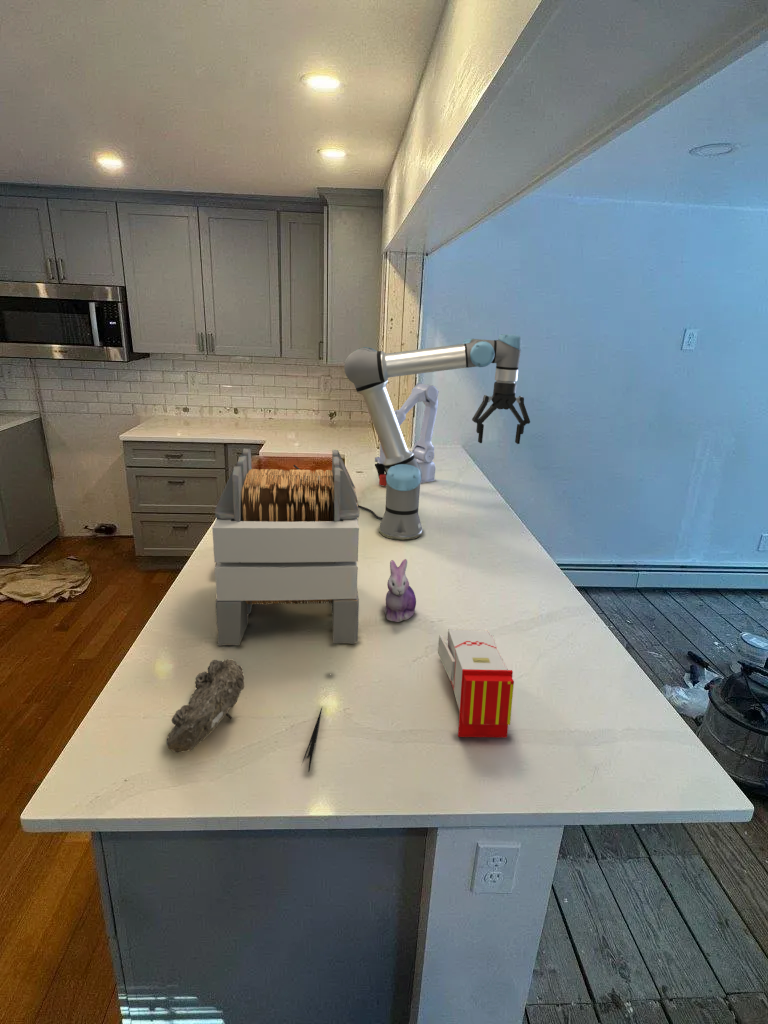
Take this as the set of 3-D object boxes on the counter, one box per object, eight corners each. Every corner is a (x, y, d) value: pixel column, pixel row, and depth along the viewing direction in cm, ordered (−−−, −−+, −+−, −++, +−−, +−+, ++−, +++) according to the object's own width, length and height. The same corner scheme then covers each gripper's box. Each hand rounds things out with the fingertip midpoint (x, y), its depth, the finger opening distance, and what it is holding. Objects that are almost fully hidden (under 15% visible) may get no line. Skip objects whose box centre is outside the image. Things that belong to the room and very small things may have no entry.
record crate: (235, 580, 161) (228, 439, 147) (350, 579, 165) (354, 441, 151) (215, 647, 129) (204, 476, 115) (358, 644, 133) (363, 478, 119)
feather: (331, 679, 122) (336, 673, 122) (307, 777, 96) (313, 769, 95) (324, 675, 122) (329, 669, 121) (298, 772, 95) (304, 764, 95)
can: (386, 486, 249) (386, 477, 247) (376, 484, 251) (377, 475, 250) (392, 483, 253) (392, 475, 251) (383, 481, 255) (383, 473, 254)
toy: (488, 613, 130) (523, 677, 101) (484, 667, 133) (517, 744, 104) (435, 612, 130) (455, 676, 101) (432, 666, 133) (451, 743, 103)
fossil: (192, 660, 117) (244, 628, 112) (224, 691, 120) (276, 661, 115) (142, 746, 98) (202, 712, 93) (182, 779, 101) (242, 748, 96)
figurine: (392, 627, 141) (395, 572, 136) (374, 608, 149) (376, 556, 144) (425, 619, 145) (429, 566, 140) (405, 601, 154) (408, 550, 149)
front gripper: (536, 381, 199) (529, 441, 206) (467, 379, 196) (461, 439, 203) (544, 384, 192) (536, 445, 199) (472, 382, 189) (466, 444, 196)
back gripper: (369, 448, 250) (368, 477, 255) (388, 455, 239) (386, 486, 244) (382, 446, 254) (381, 475, 259) (401, 454, 243) (400, 484, 248)
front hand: (498, 442), depth 201 cm, fingers open, 13 cm apart
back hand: (384, 480), depth 252 cm, fingers closed on can, 5 cm apart
